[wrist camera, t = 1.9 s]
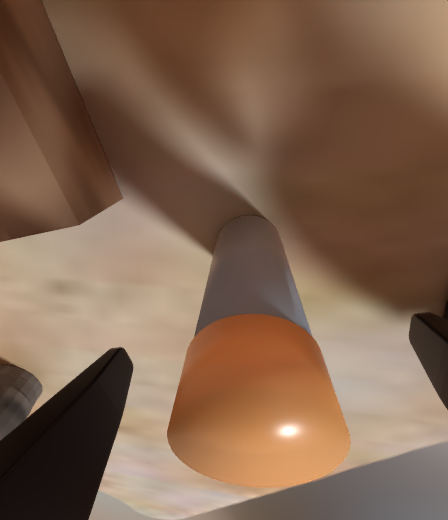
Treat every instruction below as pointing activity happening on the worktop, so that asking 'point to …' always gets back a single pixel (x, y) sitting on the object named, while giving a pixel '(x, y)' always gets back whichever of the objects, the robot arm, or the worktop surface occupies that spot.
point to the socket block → (44, 132)
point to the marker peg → (255, 373)
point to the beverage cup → (16, 397)
